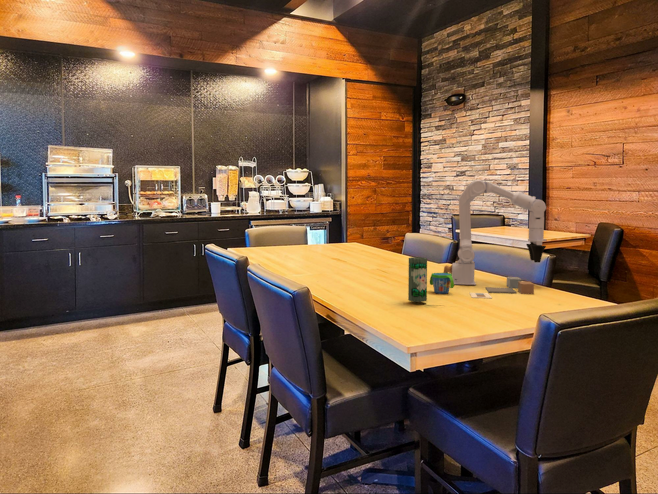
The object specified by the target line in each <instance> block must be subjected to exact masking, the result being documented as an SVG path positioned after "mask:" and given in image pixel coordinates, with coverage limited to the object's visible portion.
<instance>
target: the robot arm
mask: <svg viewBox="0 0 658 494" xmlns="http://www.w3.org/2000/svg"><path fill="white" fill-rule="evenodd" d="M482 194H493V195H497V196H499V197H502V198H505V199H508V200H510V202H511V204H512V205H514V206H516V207H518V208H521V209H523V210H526V211H528V212H529V217H528V238H527V241H528V242H529V243H526V246H527V249H528V253H529V258H530V261H532V262H534V263H541V260H542V256H543V253H544V250H545V249H546V247H547V246H546V245H543V242H547V239H546V238H544V232H545V211H546V210H547V206H546V203H545V202H544V201H543V199H538V198H537V197H536V196H534V195H533V196H531V195H529V194H526V193H525V191H519V190H518V191H516V192H513V191H510V190H509V189H506V188H504V187H502V186H499V185H498V184H495V183H492V182H490V181H489V182H488V181H484V180H482V179H475V180H472V181H471V182H470V183H469V184H467V185H466V187H465V189H464V190H463V191H462V193H461V194H460V196H459V198H458V216H459V217H458V218H459V220H458V221H459V249H458V251H457V257H458V258H459V259H458V260H457V261H456V262H451V263H452V264H451V265H452V278H453V281H454V285H468V286H469V285H471V286H473V285H474V286H476V285H477V283H476V281H475V272H476V271H475V267H476V266H475V265H476V263H475V261H474V260H475V257H476V256H475V252H474V250H473V243H472V223H471V222H472V221H471V218H472V217H471V216H472V215H471V203H472V202H473V201H474V200H475V199H476V198H477V197H479V196H481V195H482ZM536 198H537V199H536Z"/></svg>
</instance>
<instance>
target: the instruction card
mask: <svg viewBox="0 0 658 494" xmlns="http://www.w3.org/2000/svg"><path fill="white" fill-rule="evenodd" d="M469 295H470V296H471V298H473V299H493V297H492V296H491V294H489V292H469Z"/></svg>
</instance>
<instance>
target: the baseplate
mask: <svg viewBox="0 0 658 494" xmlns="http://www.w3.org/2000/svg"><path fill="white" fill-rule="evenodd" d="M485 290H486V291H487V293H490V294H515V295H516V294H517V291H516V289H512V288H509V287H491V286H490V287H488V286H486V287H485Z"/></svg>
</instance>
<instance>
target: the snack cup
mask: <svg viewBox="0 0 658 494" xmlns="http://www.w3.org/2000/svg"><path fill="white" fill-rule="evenodd" d="M429 285H431V286H433V291H434V294H441V295H442V294H449V291H450V289H453V288H454V286H455V284H454V281H453V278H452V274H451V273H449V272H448V273H443V272H434V273H433V272H432V273H431V275H430V279H429Z"/></svg>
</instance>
